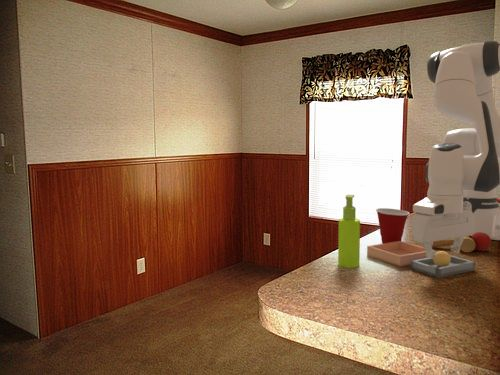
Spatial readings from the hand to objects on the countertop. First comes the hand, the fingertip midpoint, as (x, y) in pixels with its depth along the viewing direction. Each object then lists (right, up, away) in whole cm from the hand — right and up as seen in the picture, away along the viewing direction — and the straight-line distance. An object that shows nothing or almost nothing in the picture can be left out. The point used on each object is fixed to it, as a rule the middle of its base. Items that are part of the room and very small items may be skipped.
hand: (443, 254), depth 117 cm
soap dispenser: (-24, -4, +7) cm, 25 cm away
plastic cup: (-5, -1, +28) cm, 28 cm away
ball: (0, -1, 0) cm, 1 cm away
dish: (-8, -3, +12) cm, 14 cm away
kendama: (+15, -2, +22) cm, 26 cm away
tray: (0, -4, 0) cm, 4 cm away
